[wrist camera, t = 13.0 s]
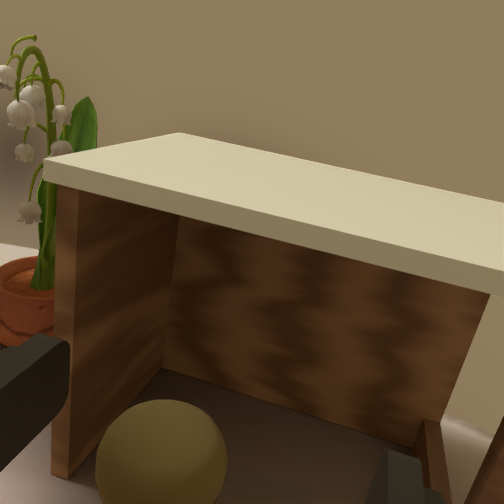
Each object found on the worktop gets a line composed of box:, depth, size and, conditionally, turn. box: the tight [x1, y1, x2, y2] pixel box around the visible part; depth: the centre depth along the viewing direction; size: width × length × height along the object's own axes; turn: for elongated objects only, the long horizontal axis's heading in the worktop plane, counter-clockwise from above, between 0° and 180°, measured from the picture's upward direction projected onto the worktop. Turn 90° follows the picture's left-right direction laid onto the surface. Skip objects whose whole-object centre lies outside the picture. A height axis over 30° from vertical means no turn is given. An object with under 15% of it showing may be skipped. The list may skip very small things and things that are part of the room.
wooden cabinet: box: [43, 132, 504, 504], centre depth 30 cm, size 24×15×20 cm, turn 74°
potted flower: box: [0, 35, 97, 347], centre depth 38 cm, size 12×10×25 cm
